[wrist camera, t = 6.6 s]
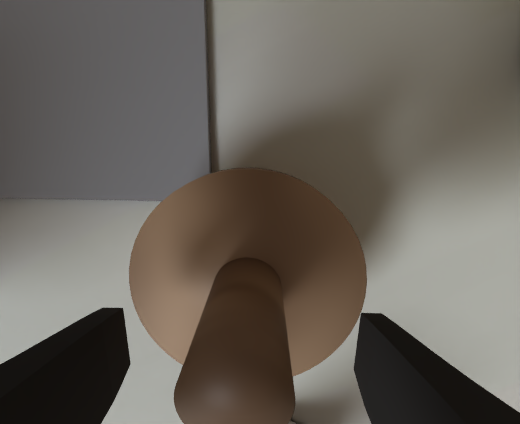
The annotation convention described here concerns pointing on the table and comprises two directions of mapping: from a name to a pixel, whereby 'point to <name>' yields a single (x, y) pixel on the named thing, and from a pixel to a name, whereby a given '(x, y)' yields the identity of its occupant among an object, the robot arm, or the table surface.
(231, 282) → the lid
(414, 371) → the robot arm
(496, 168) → the table surface
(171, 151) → the mat
